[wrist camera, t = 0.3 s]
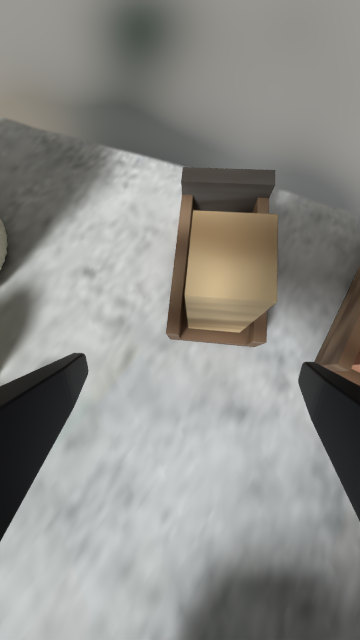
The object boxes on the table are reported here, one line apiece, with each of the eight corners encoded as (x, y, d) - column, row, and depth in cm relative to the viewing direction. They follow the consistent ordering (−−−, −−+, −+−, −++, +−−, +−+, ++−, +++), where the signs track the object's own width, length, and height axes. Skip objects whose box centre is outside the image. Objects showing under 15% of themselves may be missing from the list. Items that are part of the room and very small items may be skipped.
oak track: (254, 346, 21) (272, 339, 16) (170, 339, 21) (163, 329, 17) (258, 209, 24) (275, 168, 19) (185, 205, 25) (183, 165, 20)
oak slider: (239, 332, 20) (277, 302, 11) (188, 328, 20) (184, 294, 11) (241, 280, 21) (277, 214, 12) (193, 277, 21) (193, 210, 12)
